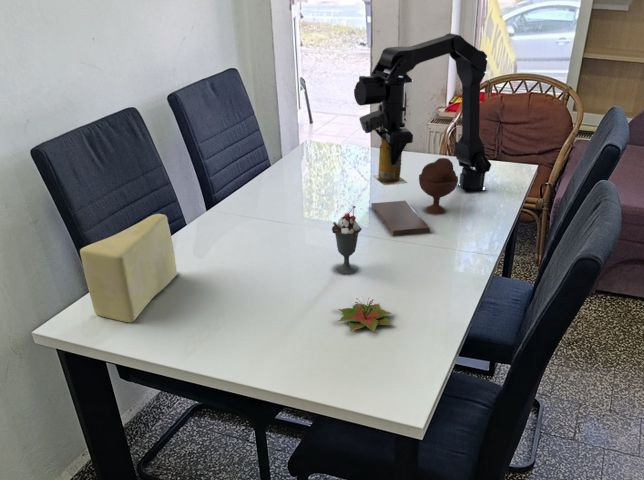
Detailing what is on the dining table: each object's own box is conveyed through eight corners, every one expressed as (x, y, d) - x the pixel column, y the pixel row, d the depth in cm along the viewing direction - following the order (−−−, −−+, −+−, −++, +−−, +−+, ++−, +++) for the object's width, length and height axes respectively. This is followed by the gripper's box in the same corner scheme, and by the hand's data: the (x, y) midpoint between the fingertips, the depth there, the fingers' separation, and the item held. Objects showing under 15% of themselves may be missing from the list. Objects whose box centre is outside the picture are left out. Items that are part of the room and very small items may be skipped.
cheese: (156, 270, 149) (146, 207, 140) (193, 277, 146) (185, 214, 138) (91, 315, 131) (75, 247, 123) (132, 325, 128) (118, 255, 120)
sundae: (364, 265, 152) (366, 204, 144) (355, 277, 147) (356, 215, 139) (338, 261, 154) (338, 200, 146) (328, 273, 149) (327, 210, 141)
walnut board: (404, 205, 186) (405, 200, 185) (429, 232, 170) (430, 227, 169) (371, 208, 183) (371, 203, 183) (393, 236, 167) (393, 230, 166)
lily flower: (403, 330, 128) (404, 310, 126) (344, 339, 125) (345, 318, 123) (383, 302, 138) (384, 282, 135) (328, 309, 135) (328, 289, 133)
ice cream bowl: (453, 204, 187) (459, 152, 179) (455, 219, 178) (460, 164, 169) (416, 202, 188) (420, 150, 180) (416, 217, 178) (420, 162, 170)
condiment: (395, 174, 184) (398, 130, 177) (408, 183, 177) (411, 139, 171) (372, 176, 182) (373, 132, 175) (383, 186, 175) (385, 141, 169)
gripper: (354, 94, 175) (352, 152, 183) (372, 111, 160) (370, 173, 168) (393, 93, 177) (390, 150, 186) (415, 109, 162) (411, 171, 171)
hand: (389, 161), depth 178 cm, fingers closed on condiment, 6 cm apart
